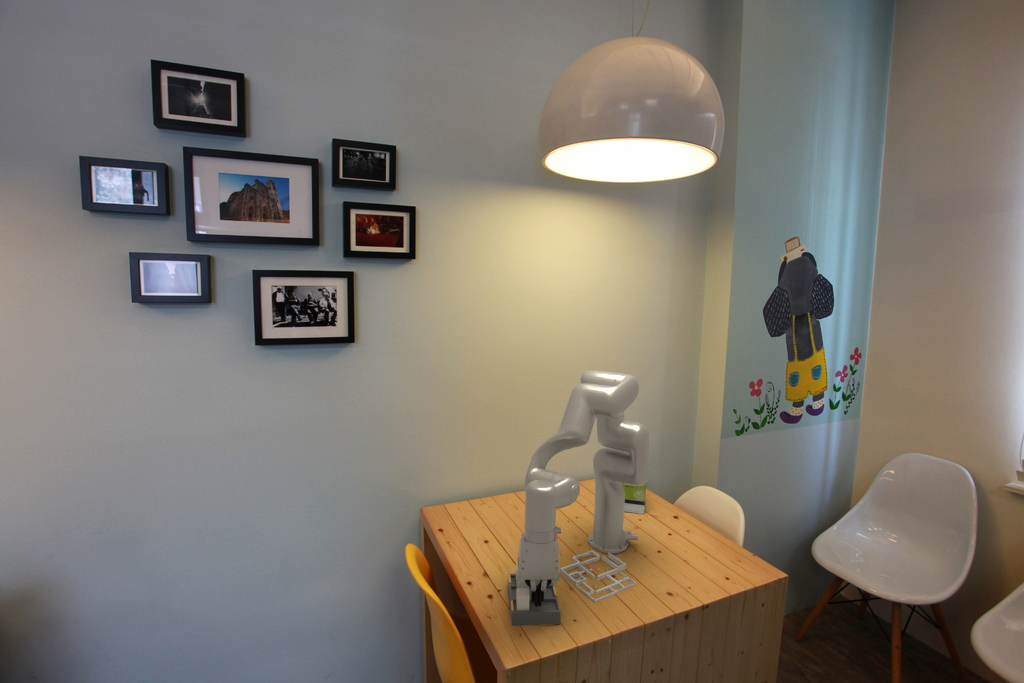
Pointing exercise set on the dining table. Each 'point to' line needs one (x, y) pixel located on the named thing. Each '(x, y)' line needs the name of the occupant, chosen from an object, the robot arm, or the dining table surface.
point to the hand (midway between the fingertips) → (537, 602)
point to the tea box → (634, 498)
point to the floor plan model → (607, 574)
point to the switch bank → (534, 615)
